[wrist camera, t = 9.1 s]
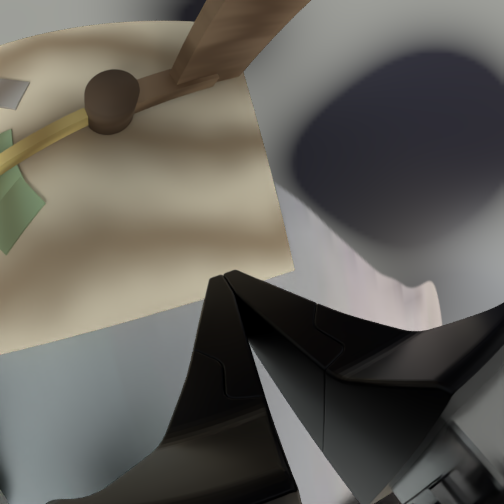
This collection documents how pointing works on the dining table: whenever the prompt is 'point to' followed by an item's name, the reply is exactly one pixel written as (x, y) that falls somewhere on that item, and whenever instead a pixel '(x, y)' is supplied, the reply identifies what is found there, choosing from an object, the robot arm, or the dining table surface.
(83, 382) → the dining table surface
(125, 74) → the brown piece
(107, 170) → the dial board
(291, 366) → the robot arm
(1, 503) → the teacup
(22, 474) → the dining table surface
